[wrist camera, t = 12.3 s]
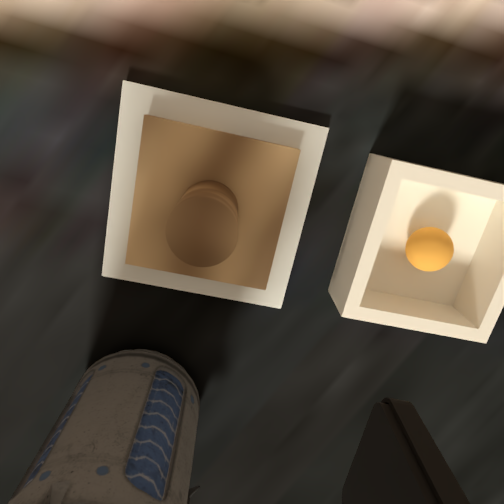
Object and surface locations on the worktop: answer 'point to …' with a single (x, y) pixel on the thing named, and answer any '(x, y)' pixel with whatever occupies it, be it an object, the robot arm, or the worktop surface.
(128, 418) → the beverage bottle
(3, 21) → the worktop surface
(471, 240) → the dish
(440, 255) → the clementine
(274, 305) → the box
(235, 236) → the lid
